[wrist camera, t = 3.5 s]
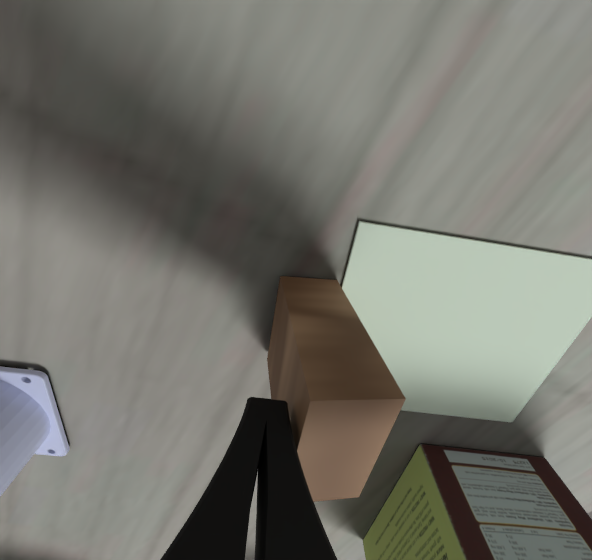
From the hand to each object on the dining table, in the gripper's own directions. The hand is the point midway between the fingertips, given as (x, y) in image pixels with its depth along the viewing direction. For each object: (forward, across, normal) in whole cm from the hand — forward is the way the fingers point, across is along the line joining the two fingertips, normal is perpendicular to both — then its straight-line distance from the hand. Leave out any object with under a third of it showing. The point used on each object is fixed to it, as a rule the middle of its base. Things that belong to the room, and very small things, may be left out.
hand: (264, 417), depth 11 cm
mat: (+6, -10, 0) cm, 12 cm away
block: (+6, -1, 0) cm, 6 cm away
